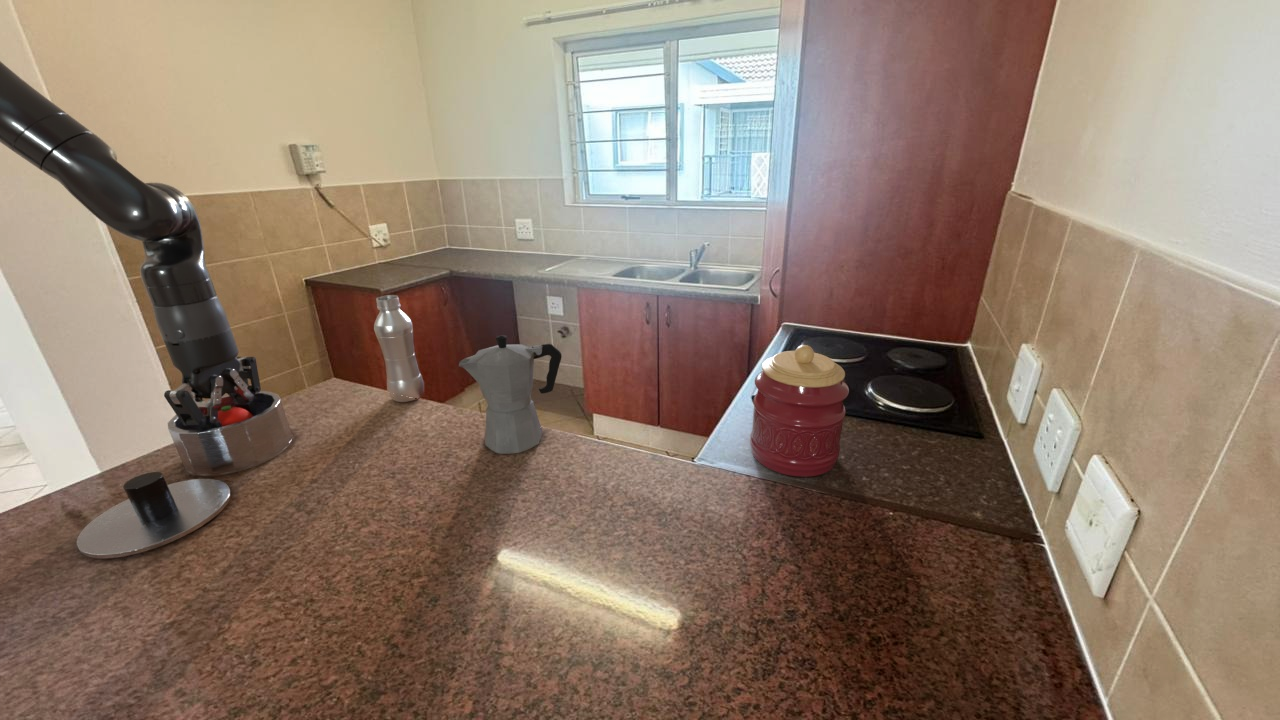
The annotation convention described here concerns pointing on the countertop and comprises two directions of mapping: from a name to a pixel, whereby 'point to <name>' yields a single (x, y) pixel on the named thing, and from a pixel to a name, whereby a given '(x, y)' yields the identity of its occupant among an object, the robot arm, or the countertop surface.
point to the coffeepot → (511, 392)
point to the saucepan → (234, 439)
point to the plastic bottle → (398, 350)
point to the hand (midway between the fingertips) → (234, 432)
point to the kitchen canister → (798, 413)
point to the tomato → (232, 415)
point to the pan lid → (152, 515)
